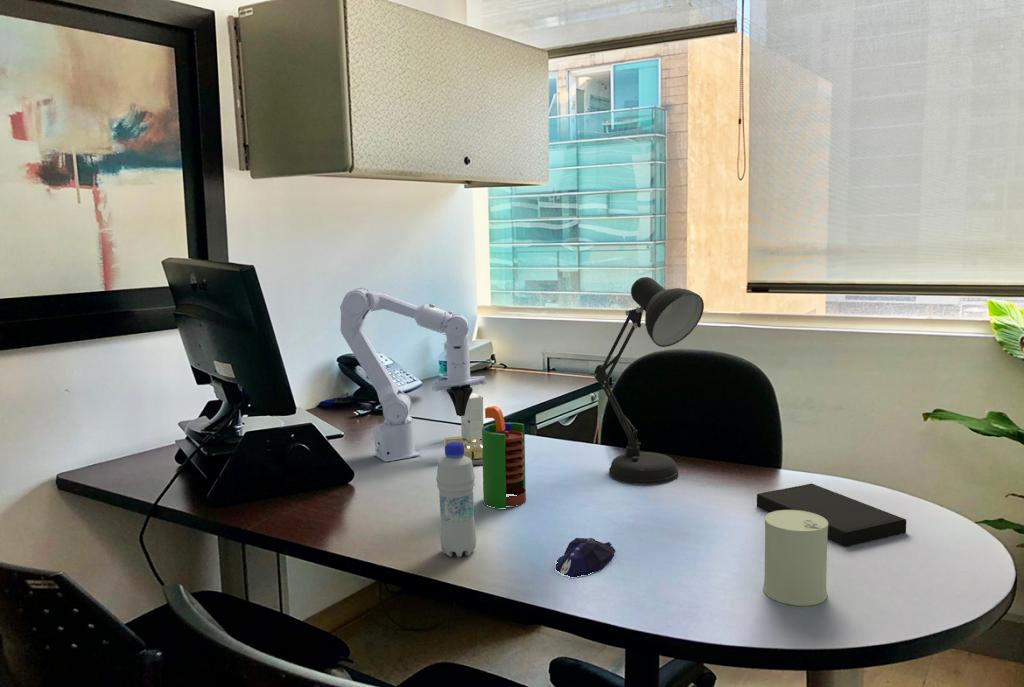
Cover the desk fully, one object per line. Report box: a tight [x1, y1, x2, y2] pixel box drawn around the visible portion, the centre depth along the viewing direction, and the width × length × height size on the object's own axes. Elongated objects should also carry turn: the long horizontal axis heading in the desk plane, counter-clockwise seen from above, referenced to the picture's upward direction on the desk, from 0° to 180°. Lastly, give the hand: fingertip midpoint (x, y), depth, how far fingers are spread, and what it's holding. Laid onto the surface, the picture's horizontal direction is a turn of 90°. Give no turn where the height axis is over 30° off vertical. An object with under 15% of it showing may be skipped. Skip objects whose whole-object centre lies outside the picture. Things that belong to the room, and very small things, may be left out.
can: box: [762, 510, 828, 607], centre depth 121 cm, size 9×9×12 cm
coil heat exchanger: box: [482, 405, 527, 509], centre depth 166 cm, size 10×9×20 cm
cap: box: [466, 443, 483, 466], centre depth 200 cm, size 13×13×4 cm
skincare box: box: [460, 392, 484, 441], centre depth 219 cm, size 6×4×12 cm
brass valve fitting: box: [443, 435, 483, 459], centre depth 199 cm, size 11×12×4 cm
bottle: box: [435, 442, 477, 558], centre depth 140 cm, size 7×7×20 cm
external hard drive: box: [756, 483, 907, 548], centre depth 152 cm, size 14×23×3 cm, turn 23°
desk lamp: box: [593, 276, 705, 485], centre depth 179 cm, size 24×26×45 cm
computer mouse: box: [556, 537, 616, 578], centre depth 136 cm, size 9×15×4 cm, turn 140°
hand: (460, 415), depth 204 cm, fingers closed
